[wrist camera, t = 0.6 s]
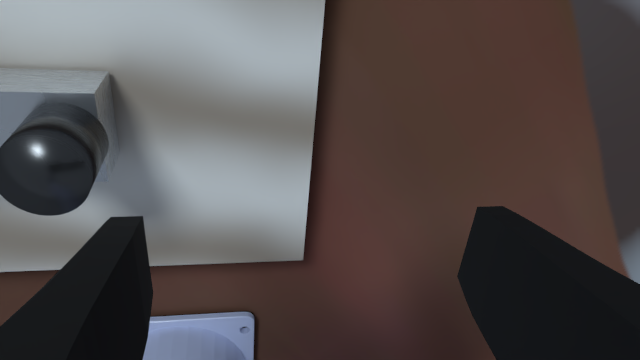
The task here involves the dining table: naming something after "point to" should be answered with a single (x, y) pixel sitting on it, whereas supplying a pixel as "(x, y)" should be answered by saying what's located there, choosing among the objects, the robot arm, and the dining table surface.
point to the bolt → (55, 137)
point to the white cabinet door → (181, 124)
